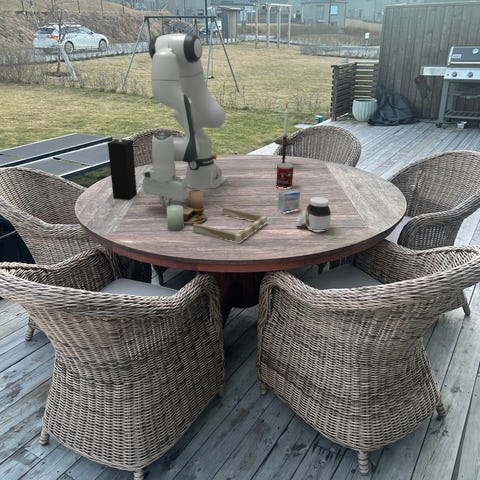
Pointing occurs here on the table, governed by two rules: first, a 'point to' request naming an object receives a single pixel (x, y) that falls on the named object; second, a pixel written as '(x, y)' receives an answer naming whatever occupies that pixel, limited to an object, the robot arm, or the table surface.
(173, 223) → the sage green rounded piece
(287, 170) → the canned food
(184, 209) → the toy sandwich meal
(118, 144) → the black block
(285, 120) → the candlestick
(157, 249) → the table surface
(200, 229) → the frame
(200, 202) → the peach rounded cylinder
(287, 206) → the medicine box
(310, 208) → the spread jar
